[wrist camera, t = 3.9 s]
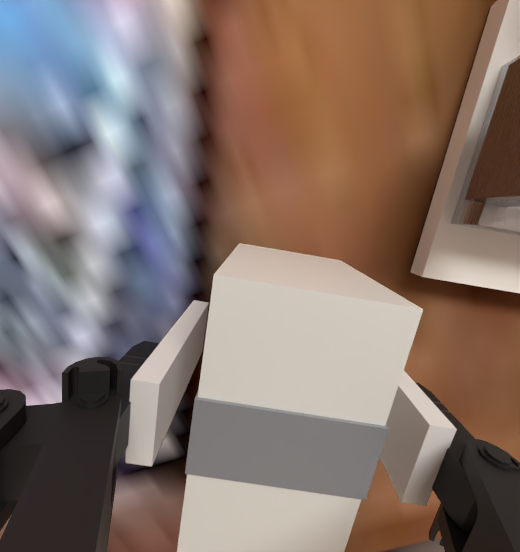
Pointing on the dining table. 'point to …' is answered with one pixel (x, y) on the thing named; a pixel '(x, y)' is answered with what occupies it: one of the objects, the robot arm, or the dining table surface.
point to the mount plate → (438, 229)
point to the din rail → (495, 162)
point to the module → (290, 402)
